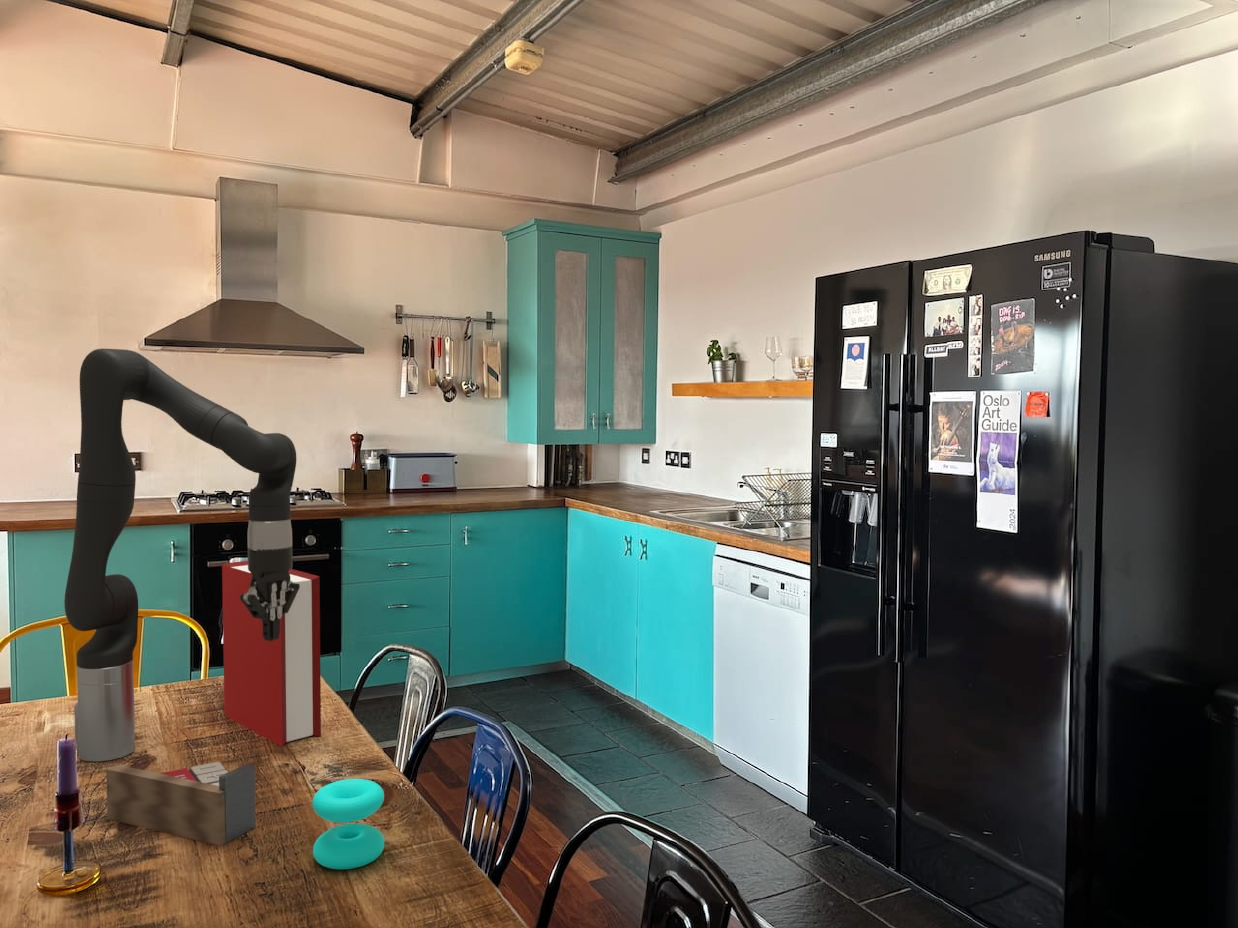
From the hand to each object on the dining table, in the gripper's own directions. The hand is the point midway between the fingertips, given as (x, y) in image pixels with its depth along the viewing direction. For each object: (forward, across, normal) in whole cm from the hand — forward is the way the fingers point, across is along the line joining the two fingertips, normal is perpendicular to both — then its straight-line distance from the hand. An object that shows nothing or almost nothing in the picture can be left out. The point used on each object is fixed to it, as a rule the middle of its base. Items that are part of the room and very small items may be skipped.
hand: (271, 639), depth 170 cm
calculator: (+24, +17, -1) cm, 29 cm away
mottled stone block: (+23, +25, +4) cm, 34 cm away
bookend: (+23, +24, +15) cm, 37 cm away
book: (+23, -16, -16) cm, 33 cm away
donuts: (+23, +23, +35) cm, 48 cm away
